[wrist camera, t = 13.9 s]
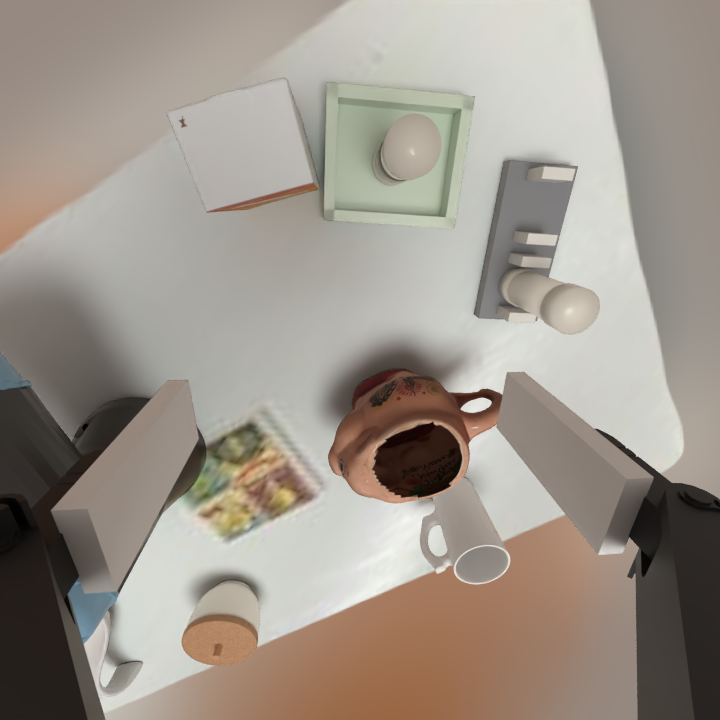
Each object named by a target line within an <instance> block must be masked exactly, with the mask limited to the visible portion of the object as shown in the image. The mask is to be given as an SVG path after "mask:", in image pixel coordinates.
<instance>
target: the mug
mask: <svg viewBox="0 0 720 720" xmlns="http://www.w3.org/2000/svg"><path fill="white" fill-rule="evenodd" d="M432 498H433V502H434V505H435V511H434V512H433V513H432V514H430V515H428V516H425V517H424V518H423V520H422V527H421V534H420V546H421V550H422V553H423V555H424V557H425V558H426V560H427V561H428V562H429V563H430V564H431V565H432V567H433V568H434V569H435V571H436V573H440V572H442V571H444V570H445V569H446V567H448V566H453V568H454V573H455V575H456V577H457V578H458V579H459V580H461V581H463V582H465V583H469V584H484V583H488V582H491V581H493V580H495V579H497V578H499V577H500V576H501V575H503V574H504V573H505V571H506V570H507V569H508V567H509V564H510V556H509V553H508V552H507V551H506V549H505V547H504V545H503V542H502V540H501V539H500V537H499V535H498V533H497V531H496V529H495V527H494V525H493V523H492V521H491V519H490V517H489V516H488V514H487V512H486V510H485V508H484V506H483V504H482V502H481V500H480V498H479V496H478V494H477V493H476V491H475V489H474V487H473V485H472V483H471V482H470V481H469V480H468V479H466V478H464V477H462V479H461V480H460V481H459V482H458V483H457V484H456V485H455V486H454V487H452V488H451V489H449V490H448V491H446V492H444V493H442V494H439V495H437V496H434V497H432ZM436 525H441V528H442V532H443V535H444V538H445V542H446V545H447V553H446V554H445V555H444V556H440V557H438V556H435V555H434V554H433V553H432V552H431V551H430V549H429V546H428V535H429V532H430V530H431V528H432V527H434V526H436Z"/></svg>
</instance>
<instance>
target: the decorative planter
mask: <svg viewBox="0 0 720 720" xmlns="http://www.w3.org/2000/svg"><path fill="white" fill-rule="evenodd" d="M502 396H503V395H502V394H500V393H498V392H495V391H493V390H490V389H481V390H480V391H479V392H473V393H448V392H447V391H446V390H445V389H444V388H443V387H442V385H441V384H440V383H439V382H438V381H437V380H435V379H433V378H431V377H428V376H423V375H415V374H414V373H413V372H411V371H409V370H407V369H392V370H388V371H384V372H381V373H378V374H376V375H374V376H372V377H371V378H369V379H367V380H365V381H363V382H361V383H360V384H359V385H358V387H357V389H356V391H355V394H354V396H353V400H352V405H353V411H352V412H350V413H349V414H348V415H347V416H346V417H345V418H344V419H343V420H342V422H341V423H340V425H339V427H338V429H337V432H336V436H335V440H334V443H333V445H332V447H331V449H330V452H329V454H328V460H329V464H330V467H331V469H332V471H333V472H334V473H335V474H336V475H339V476H343V477H344V479H345V480H346V481H347V482H348V484H349V485H350V487H351V488H352V490H353V491H355V492H356V493H357V494H359V495H362V496H365V497H371V498H375V499H379V500H382V501H385V502H389V503H403V502H407V501H414V500H421V499H426V498H431V497H434V496H437V495H439V494H442V493H444V492H446V491H448V490H449V489H451V488H452V487H454V486H455V485H456V484H457V483H458V482H459V481H460V480H461V479H462V477H463V476H464V475H465V473H466V471H467V468H468V464H469V446H468V444H469V442H470V441H471V439H472V438H473V437H475V436H476V435H478V434H480V433H482V432H484V431H486V430H489V429H490V428H492V427H494V426H495V425H496V424H497V422H498V417H499V411H500V406H501V401H502ZM477 398H487V399H489V400H491V401H492V404H491V406H490V407H489V408H487V409H486V410H483V411H480V412H476V413H468V412H464V411H462V410H460V409H461V407H462V406H463V405H464V404H465V403H467V402H468V401H471V400H474V399H477Z"/></svg>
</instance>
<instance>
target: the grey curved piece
mask: <svg viewBox="0 0 720 720" xmlns="http://www.w3.org/2000/svg"><path fill="white" fill-rule="evenodd" d="M110 628H111V620H110V614H109V611H107V612H106V614H105V616H104V617H103V619H102V620H101V622H100V623H99V625H98V627H97V628H96V630H95V631H94V633H93V634H92V635H91V637H90V638H89V639H88V640H87V641H86V642H85V643H84V647H85V651H86V654H87V658H88V661H89V665H90V668H91V672H92V675H93V679H94V682H95V686H96V689H97V693H98V696H99V698H102V697H113V696H116V695H118V694H119V693H121V692H122V691H124V690H125V689H126V688H127V687H128V686H129V685H130V684H131V683H132V681H133V680H134V679H135V677H136V676H137V674H138V673H139V671H140V669H141V667H142V663H141V662H130V663H127V664H121V665H119V666H118V667H117V668H116V670H115V672H114V674H113V676H112V678H111V680H110V682H109V684H108V685H107V686H106V687H105V688H104V687H103V686H102V685H101V682H100V674H101V669H102V665H103V662H104V658H105V655H106V651H107V647H108V642H109V636H110Z"/></svg>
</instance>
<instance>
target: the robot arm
mask: <svg viewBox="0 0 720 720" xmlns="http://www.w3.org/2000/svg"><path fill="white" fill-rule="evenodd" d="M30 386H32V385H31V383H30V382H29V381H27V380H24V379H23V378H22V377H21V376H20V375H19V373H18V372H17V371H16V370H15V369H14V368H13V367H12V366H11V364H10V363H9V362H8V361H7V360H6V358H5V357H4V356H3V355H2V354H1V353H0V720H105V717H104V713H103V710H102V706H101V703H100V699H99V696H98V693H97V689H96V686H95V682H94V679H93V675H92V672H91V668H90V665H89V661H88V658H87V654H86V651H85V647H84V643H85V642H86V641H87V640H88V639H89V638H90V637H91V635H92V634H93V633H94V631H95V630H96V628H97V627H98V625H99V623H100V622H101V620H102V619H103V617H104V616H105V614H106V612H107V611H108V609H109V608H110V607H111V606H112V605H113V604H114V603H115V602H116V599H117V597H118V594H119V592H120V591H121V589H122V587H123V585H124V583H125V581H126V579H127V578H128V576H129V574H130V572H131V570H132V568H133V566H134V565H135V563H136V561H137V559H138V557H139V555H140V554H141V552H142V550H143V548H144V546H145V544H146V542H147V541H148V539H149V537H150V535H151V533H152V531H153V529H154V528H155V526H156V524H157V522H158V520H159V518H160V517H161V515H162V513H163V512H164V511H165V510H166V509H168V508H169V507H170V506H171V505H172V504H173V503H174V502H175V501H176V500H177V499H178V498H179V497H181V496H182V495H184V494H185V493H186V492H187V491H188V490H189V489H190V488H191V487H192V486H193V485H194V484H195V482H196V481H197V479H198V477H199V475H200V473H201V471H202V469H203V467H204V464H205V460H206V448H205V444H204V440H203V438H202V436H201V434H200V432H199V430H198V429H197V425H196V420H195V415H194V409H193V404H192V398H191V393H190V387H189V382H188V380H168V381H167V382H166V383H165V384H164V385H163V386H162V387H161V389H160V390H159V391H158V392H157V393H156V394H155V395H154V396H153V397H152V399H151V400H150V399H143V398H125V399H119V400H115V401H112V402H109V403H107V404H105V405H103V406H102V407H100V408H99V409H97V410H96V411H95V412H94V413H93V414H92V415H90V416H89V417H88V418H87V419H86V420H85V421H84V422H83V423H82V425H81V426H80V427H79V429H78V430H77V432H76V434H75V437H74V439H73V441H72V442H71V440H70V439H69V438H68V437H67V435H66V434H65V433H64V431H63V430H62V429H61V428H60V426H59V425H58V424H57V422H56V421H55V420H54V418H53V417H52V415H51V414H50V413H49V411H48V410H47V409H46V407H45V406H44V405H43V403H42V402H41V401H40V399H39V398H38V397H37V395H36V394H35V393H34V391H33V390H32V388H31V387H30ZM497 428H498V430H499V431H500V432H501V433H502V435H503V436H504V437H505V439H506V440H507V441H508V442H509V444H510V445H511V446H512V447H513V449H514V450H515V451H516V452H517V454H518V455H519V456H520V457H521V459H522V460H523V461H524V462H525V464H526V465H527V466H528V467H529V469H530V470H531V471H532V473H533V474H534V475H535V476H536V478H537V479H538V480H539V481H540V483H541V484H542V485H543V486H544V488H545V489H546V490H547V491H548V493H549V494H550V495H551V496H552V498H553V499H554V500H555V501H556V503H557V504H558V505H559V506H560V508H561V509H562V510H563V512H564V513H565V514H566V515H567V517H568V518H569V519H570V520H571V521H572V523H573V524H574V525H575V527H576V528H577V529H578V530H579V531H580V533H581V534H582V535H583V537H584V538H585V539H586V540H587V542H588V543H589V544H590V545H591V547H592V548H593V549H594V550H595V552H596V553H597V554H598V555H603V554H617V553H623V551H624V548H625V546H626V543H627V541H628V539H629V537H630V538H631V539H632V540H633V541H634V543H636V545H637V546H638V547H639V550H638V552H637V555H636V557H635V560H634V562H633V564H632V566H631V568H630V571H629V573H628V577H629V578H632V577H633V575H634V574H635V573H636V629H637V692H638V693H637V698H638V720H720V500H719V499H718V498H717V497H715V496H714V495H712V494H710V493H708V492H707V491H705V490H702V489H699V488H697V487H694V486H691V485H687V484H683V483H671V482H670V481H669V480H667V479H666V478H665V477H663V476H662V475H661V474H660V473H658V472H657V471H656V470H655V469H653V468H652V467H651V466H650V465H648V464H647V463H646V462H645V461H643V460H642V459H641V458H639V457H636V454H634V453H633V452H632V451H631V450H629V449H628V448H627V449H626V448H625V446H624V445H623V444H622V443H620V442H619V441H618V440H617V439H615V438H614V437H612V436H610V435H609V434H607V433H605V432H603V431H601V430H599V429H594V428H592V427H591V426H590V425H589V424H588V423H586V422H585V421H584V420H583V419H581V418H580V417H579V416H578V415H576V414H575V413H574V412H573V411H572V410H570V409H569V408H568V407H567V406H565V405H564V404H563V403H562V402H560V401H559V400H558V399H557V398H556V397H554V396H553V395H552V394H551V393H549V392H548V391H547V390H546V389H544V388H543V387H542V386H541V385H540V384H538V383H537V382H536V381H535V380H533V379H532V378H531V377H530V376H528V375H527V374H526V373H525V372H507V375H506V380H505V386H504V391H503V396H502V401H501V406H500V411H499V417H498V422H497Z"/></svg>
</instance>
